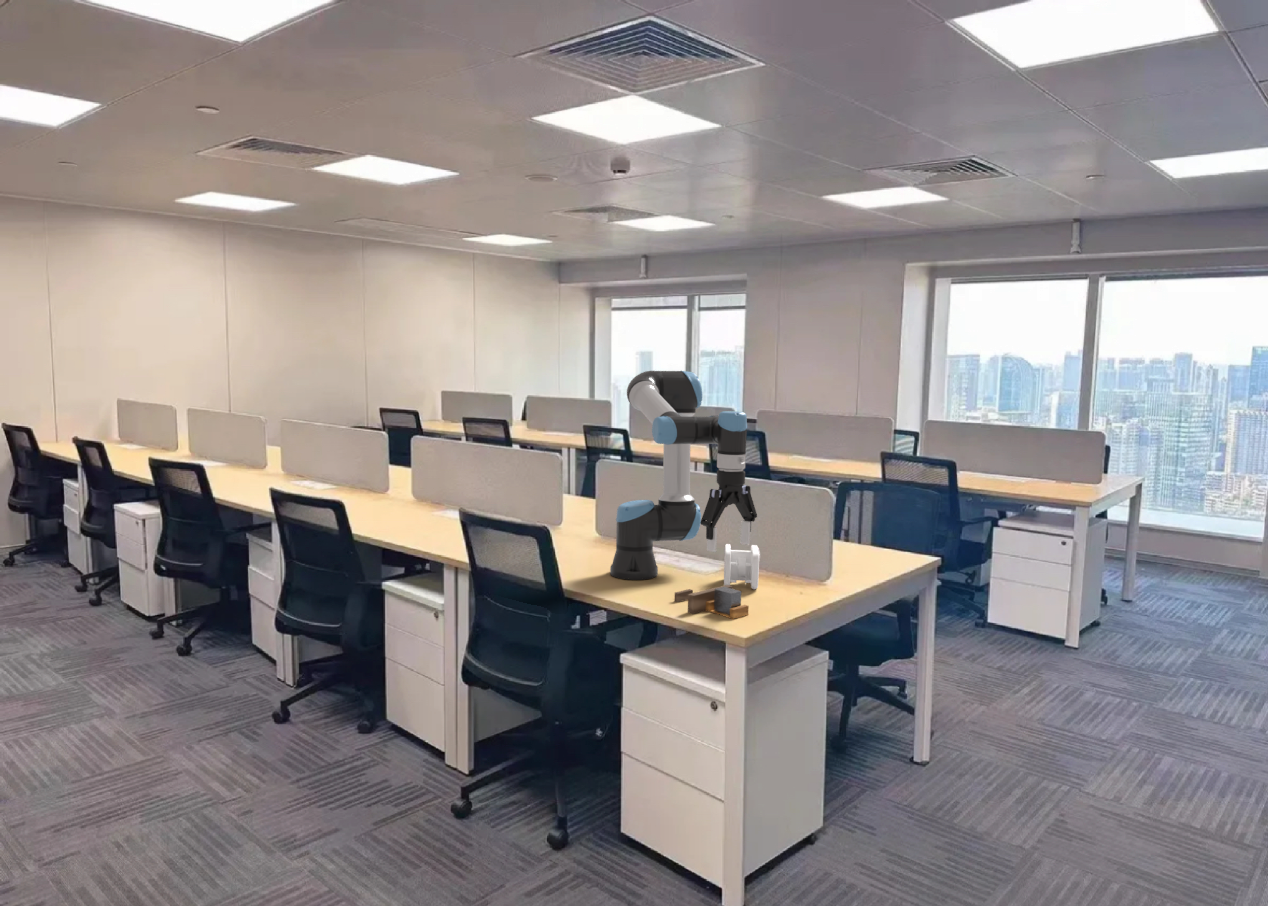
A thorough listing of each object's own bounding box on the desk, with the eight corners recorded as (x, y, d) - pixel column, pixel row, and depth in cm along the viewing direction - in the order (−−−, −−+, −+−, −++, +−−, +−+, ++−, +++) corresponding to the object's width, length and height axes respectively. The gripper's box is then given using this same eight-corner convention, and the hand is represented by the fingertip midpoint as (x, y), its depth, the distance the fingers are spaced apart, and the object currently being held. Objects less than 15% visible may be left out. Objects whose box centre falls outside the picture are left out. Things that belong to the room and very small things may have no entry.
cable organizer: (723, 578, 269) (724, 542, 268) (757, 579, 268) (758, 543, 266) (723, 590, 254) (724, 552, 253) (759, 592, 253) (760, 553, 252)
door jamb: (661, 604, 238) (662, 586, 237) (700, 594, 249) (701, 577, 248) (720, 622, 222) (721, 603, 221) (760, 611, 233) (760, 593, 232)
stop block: (714, 610, 231) (714, 589, 231) (723, 608, 234) (724, 586, 234) (730, 615, 227) (731, 593, 226) (740, 612, 230) (741, 591, 229)
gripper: (709, 474, 216) (707, 556, 218) (771, 467, 232) (768, 544, 235) (688, 471, 221) (686, 551, 223) (750, 464, 238) (747, 539, 240)
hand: (728, 547), depth 229 cm, fingers open, 13 cm apart
